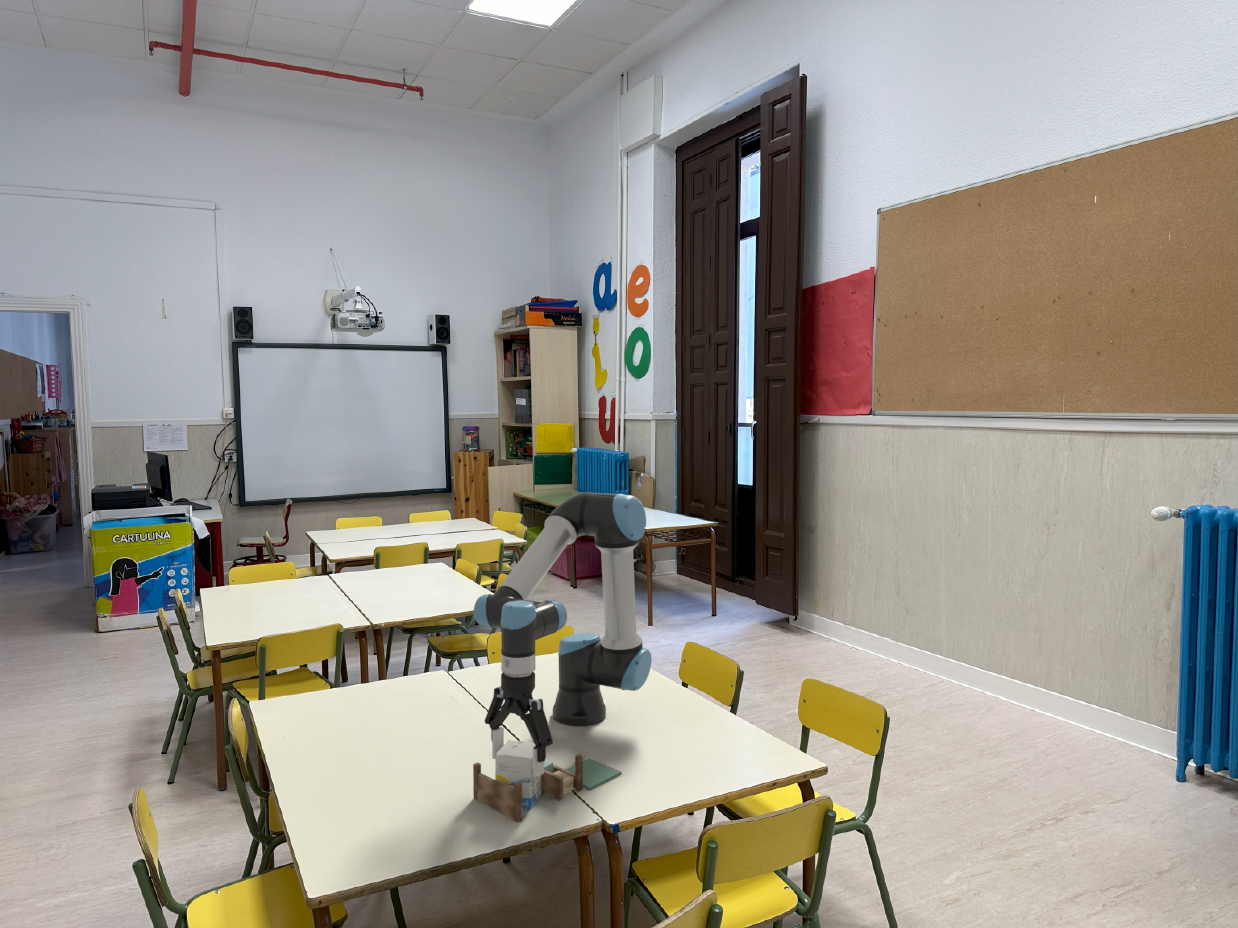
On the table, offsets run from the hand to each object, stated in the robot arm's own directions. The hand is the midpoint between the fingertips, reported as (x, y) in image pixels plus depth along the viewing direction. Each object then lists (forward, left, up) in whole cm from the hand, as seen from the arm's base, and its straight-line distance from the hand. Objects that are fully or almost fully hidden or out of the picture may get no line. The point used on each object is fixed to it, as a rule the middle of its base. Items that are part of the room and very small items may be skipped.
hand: (517, 765), depth 179 cm
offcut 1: (-3, +9, -6) cm, 11 cm away
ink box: (0, 0, -8) cm, 8 cm away
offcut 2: (+3, +10, -8) cm, 13 cm away
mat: (+3, +19, -8) cm, 21 cm away
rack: (0, +3, -8) cm, 9 cm away
